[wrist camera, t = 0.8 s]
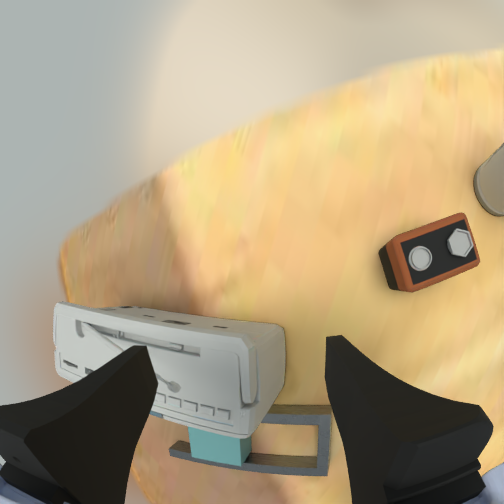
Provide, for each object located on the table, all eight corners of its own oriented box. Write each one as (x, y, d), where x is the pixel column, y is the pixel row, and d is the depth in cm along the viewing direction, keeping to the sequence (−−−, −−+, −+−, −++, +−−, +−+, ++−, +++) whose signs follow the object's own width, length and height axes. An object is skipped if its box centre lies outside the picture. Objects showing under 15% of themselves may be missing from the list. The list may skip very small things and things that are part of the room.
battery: (446, 269, 26) (488, 263, 17) (389, 291, 28) (411, 295, 18) (434, 229, 27) (469, 206, 18) (376, 250, 29) (392, 234, 19)
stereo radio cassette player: (128, 358, 36) (1, 390, 17) (129, 297, 37) (-7, 299, 18) (285, 390, 30) (209, 506, 11) (291, 316, 31) (210, 366, 12)
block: (252, 449, 30) (241, 466, 27) (206, 442, 32) (191, 456, 28) (250, 415, 31) (239, 429, 27) (202, 409, 33) (187, 421, 29)
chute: (332, 405, 28) (330, 414, 26) (329, 464, 27) (327, 476, 25) (172, 394, 34) (161, 400, 31) (179, 447, 33) (170, 455, 30)
